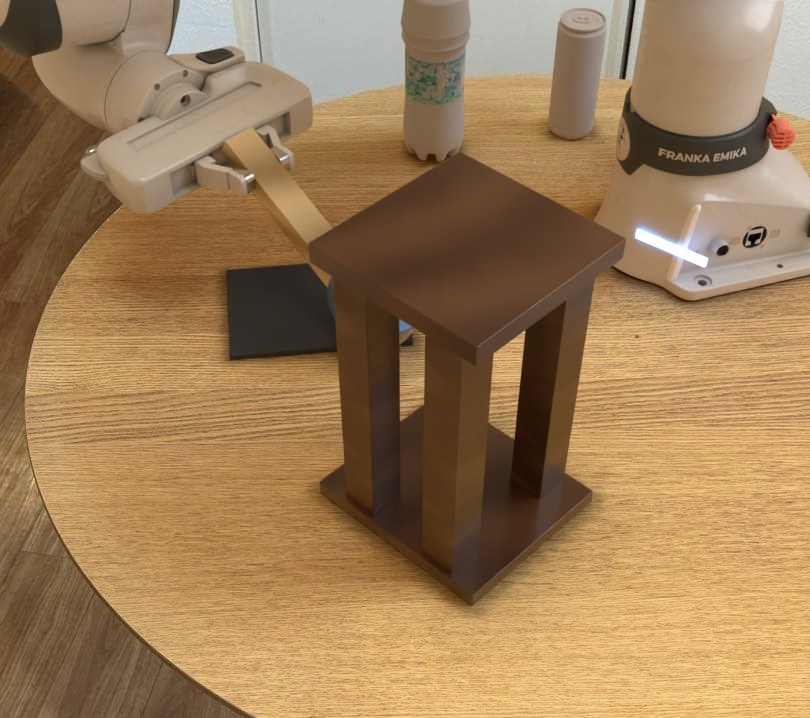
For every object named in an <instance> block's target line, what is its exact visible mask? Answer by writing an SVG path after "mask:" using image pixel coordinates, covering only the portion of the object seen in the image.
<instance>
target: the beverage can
mask: <svg viewBox="0 0 810 718" xmlns="http://www.w3.org/2000/svg"><path fill="white" fill-rule="evenodd" d="M607 29H608V28H607V17H606V16H605V14H604V13H602V12H601V11H599V10H597V9H593V8H588V7H573V8H570V9H567V10H564V11H563V12H562V13H561V14H560V16H559V20H558V22H557V30H556V38H555V39H556V40H555V50H554V58H553V59H554V60H553V69H552V70H553V71H552V79H551V89H550V98H549V108H548V117H547V125H548V127H549V129H550V131H551V132H552V133H553V134H554V135H555V136H557V137H560V138H562V139H566V140H579V139H582V138H584V137H586V136H587V135H589V134H590V132H592V130H593V128H594V125H595V119H596V118H595V117H596V110H597V105H598V103H597V102H598V95H599V88H600V82H601V73H602V65H603V58H604V53H605V52H604V51H605V43H606V37H607V36H606V35H607Z"/></svg>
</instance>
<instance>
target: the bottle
mask: <svg viewBox="0 0 810 718" xmlns="http://www.w3.org/2000/svg"><path fill="white" fill-rule="evenodd" d="M470 10H471V9H470V0H403V5H402V12H401V17H400V26H401V39H402V41H403V43H404V106H403V118H402V119H403V120H402V132H403V140H404V145H405V147H406V149H407V151H408V153H410V154H414V155H415V154H416V156H417V158H418V159H419V160H420V161H426V160H427V159H428V156H429V155H430V154H431V155H435V160H436V161H437V162H443V161H445V160H446V158H447V155H448V156H449V157H451V156H453V155H455V154H456V153H458V152H460V149H461V146H462V143H463V139H464V134H465V99H464V97H465V95H464V93H465V75H466V74H465V73H466V54H467V53H466V51H467V50H466V49H467V48H466V47H467V44H468V42H469V40H470V38H471V37H470V36H471V33H470V29H471V25H472V19H471V11H470Z"/></svg>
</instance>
